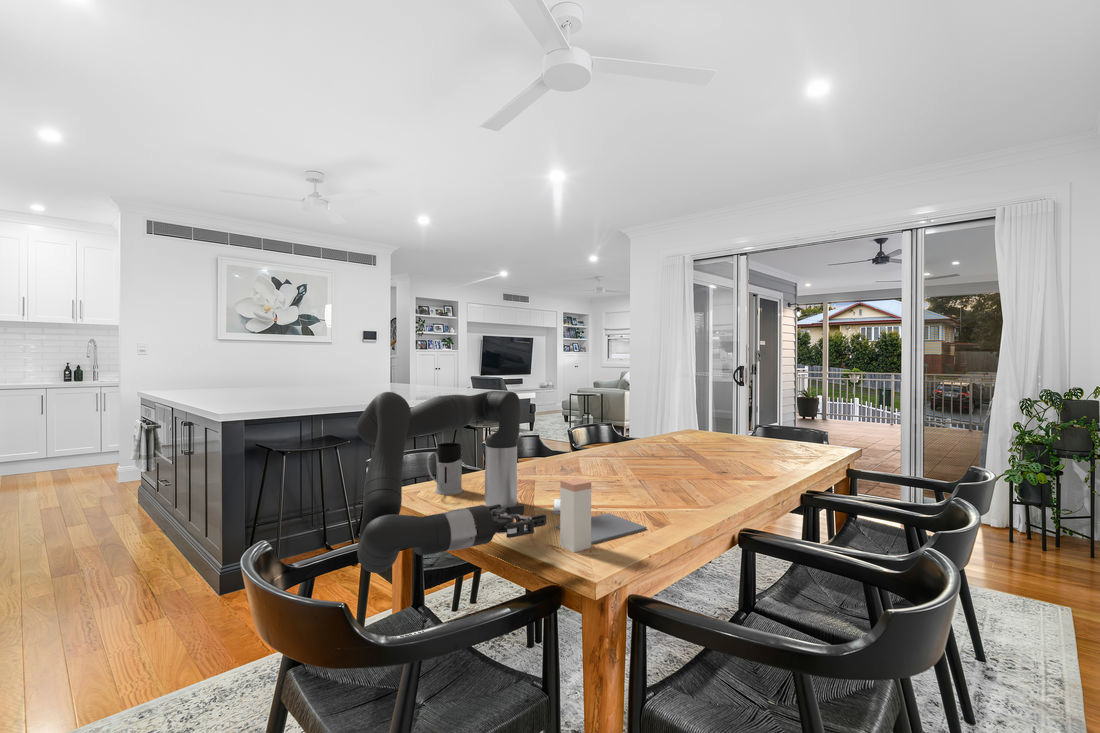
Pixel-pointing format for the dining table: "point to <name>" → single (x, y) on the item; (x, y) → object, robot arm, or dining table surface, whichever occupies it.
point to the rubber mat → (611, 527)
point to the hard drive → (556, 506)
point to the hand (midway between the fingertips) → (534, 514)
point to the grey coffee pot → (448, 468)
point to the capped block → (575, 514)
